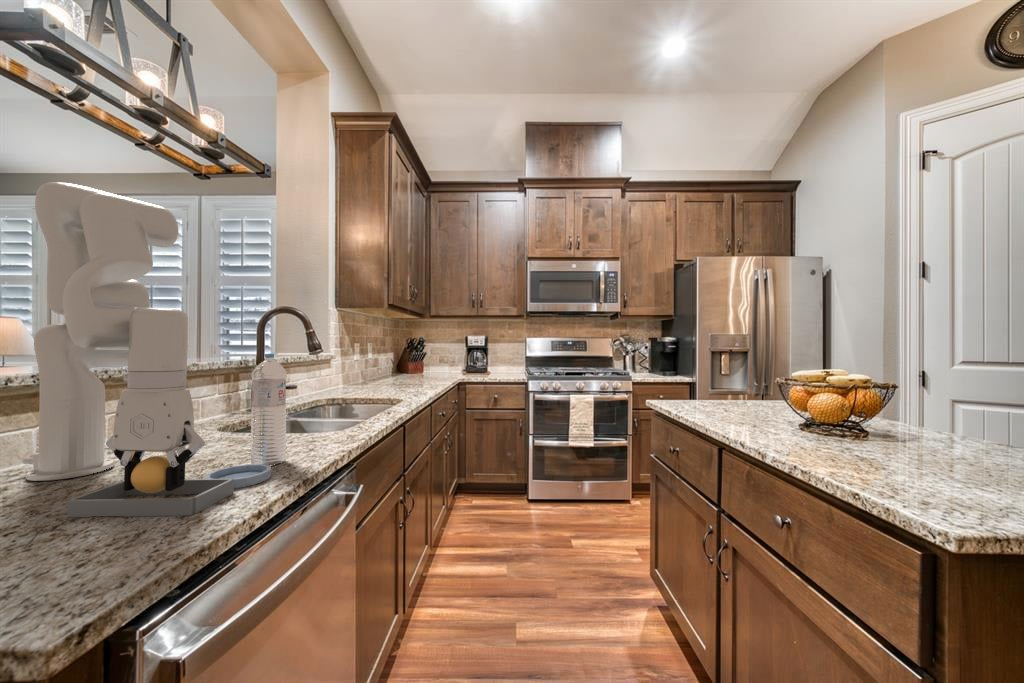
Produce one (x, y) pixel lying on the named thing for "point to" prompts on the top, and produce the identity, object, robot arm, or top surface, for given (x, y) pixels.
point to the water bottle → (268, 413)
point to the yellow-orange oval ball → (150, 474)
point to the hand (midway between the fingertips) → (154, 487)
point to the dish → (243, 474)
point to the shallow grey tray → (150, 500)
